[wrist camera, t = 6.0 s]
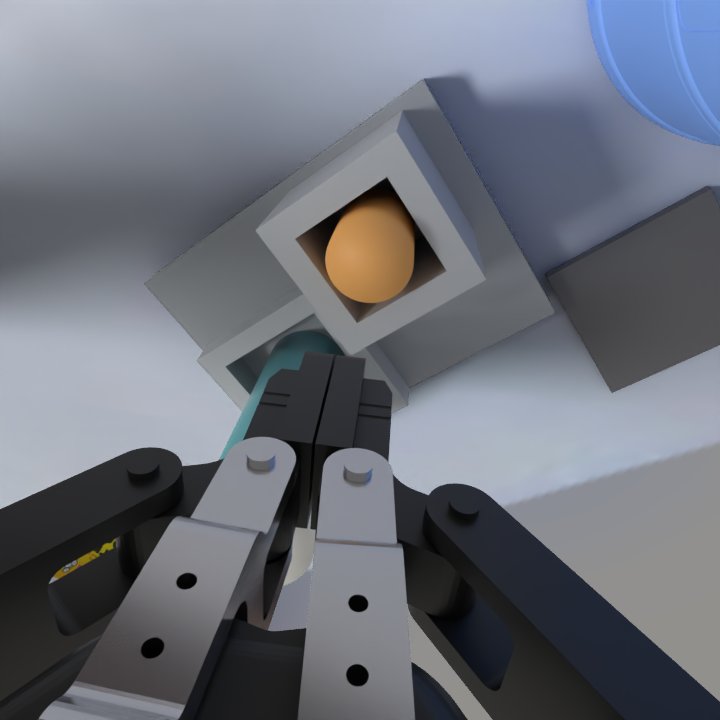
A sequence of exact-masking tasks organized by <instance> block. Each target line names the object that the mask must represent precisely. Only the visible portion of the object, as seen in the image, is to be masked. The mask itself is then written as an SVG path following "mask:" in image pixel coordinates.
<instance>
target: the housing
mask: <svg viewBox="0 0 720 720" xmlns="http://www.w3.org/2000/svg"><path fill="white" fill-rule="evenodd" d="M370 189H386V190H389V191H392V192H394V193H396V194H398V195H399V197H400V198H401V200H402V201H403V203H404V204H405V206H406V208H407V209H408V211H409V212H410V214H411V215H412V217H413V219H414V220H415V247H414V267H413V272H412V275H411V278H410V280H409V282H408V283H407V285H406V286H405V287H404V289H403V290H402V291H401V292H400V293H398V294H397V295H396V296H394V297H392V298H390V299H388V300H386V301H382V302H378V303H364V302H359V301H356V300H353V299H351V298H349V297H347V296H345V295H344V294H343V293H341V292H340V291H339V290H338V289H337V288H336V287H335V286H334V284H333V283H332V281H331V280H330V277H329V275H328V273H327V269H326V263H325V256H326V250H327V246H328V244H329V241H330V239H331V237H332V235H333V233H334V231H335V228H336V226H337V224H338V222H339V220H340V218H341V215H342V213H343V211H344V209H345V207H346V205H347V204H348V203H349V202H350V201H352V200H353V199H355V198H356V197H358V196H359V195H361V194H362V193H364V192H365V191H367V190H370ZM144 284H145V285H146V286H147V288H148V289H149V290H150V291H151V292H152V293H153V294H154V296H155V297H156V298H157V299H158V300H159V301H160V302H161V304H162V305H163V306H164V307H165V308H166V309H167V310H168V312H169V313H170V314H171V315H172V316H173V317H174V318H175V319H176V321H177V322H178V323H179V324H180V325H181V326H182V327H183V329H184V330H185V331H186V332H187V333H188V334H189V335H190V337H191V338H192V339H193V340H194V341H195V342H196V343H197V344H198V346H199V347H200V348H201V349H202V350H203V352H202V354H201V355H200V357H199V358H198V359H197V362H198V363H199V364H200V365H201V366H202V367H203V368H204V370H205V371H206V372H207V373H208V374H209V375H210V376H211V377H212V379H213V380H214V381H215V382H216V383H217V384H218V385H219V386H220V387H221V389H222V390H223V391H224V392H225V393H226V394H227V395H228V396H229V398H230V399H231V400H232V401H233V402H234V403H235V404H236V405H237V407H238V408H239V409H240V410H241V411H242V412H243V409H244V407H245V405H246V403H247V401H248V399H249V397H250V395H251V393H252V391H253V389H254V387H255V385H256V383H257V381H258V378H259V376H260V374H261V372H262V370H263V368H264V366H265V364H266V362H267V360H268V358H269V356H270V354H271V352H272V350H273V348H274V346H275V345H276V343H277V342H278V341H279V340H280V339H281V338H283V337H284V336H286V335H288V334H290V333H293V332H297V331H312V332H317V333H320V334H323V335H325V336H327V337H329V338H330V339H331V340H333V341H334V342H335V343H336V344H337V345H338V346H339V347H340V348H341V350H342V351H343V353H344V355H345V356H349V357H358V358H366V364H365V374H364V378H366V379H375V380H383V381H385V382H386V384H387V385H388V387H389V388H390V390H391V392H392V393H393V394H392V410H391V414H392V413H394V412H396V411H398V410H400V409H402V408H404V407H406V406H408V397H409V388H410V387H412V386H414V385H416V384H418V383H419V382H421V381H423V380H425V379H427V378H429V377H431V376H433V375H435V374H437V373H439V372H441V371H443V370H445V369H447V368H449V367H451V366H453V365H455V364H456V363H458V362H460V361H462V360H464V359H466V358H468V357H470V356H472V355H474V354H476V353H478V352H480V351H482V350H484V349H486V348H488V347H490V346H492V345H493V344H495V343H497V342H499V341H501V340H503V339H505V338H507V337H509V336H511V335H513V334H515V333H517V332H519V331H521V330H523V329H525V328H527V327H529V326H531V325H532V324H534V323H536V322H538V321H540V320H542V319H544V318H546V317H548V316H550V315H552V314H554V313H555V311H554V309H553V306H552V304H551V302H550V300H549V298H548V296H547V295H546V293H545V291H544V289H543V288H542V286H541V284H540V282H539V281H538V279H537V277H536V275H535V273H534V272H533V270H532V268H531V266H530V265H529V263H528V261H527V259H526V258H525V256H524V254H523V252H522V251H521V249H520V247H519V245H518V244H517V242H516V240H515V238H514V237H513V235H512V233H511V231H510V229H509V228H508V226H507V224H506V222H505V221H504V219H503V217H502V215H501V214H500V212H499V210H498V208H497V207H496V205H495V203H494V201H493V200H492V198H491V196H490V194H489V193H488V191H487V189H486V187H485V186H484V184H483V182H482V180H481V178H480V177H479V175H478V173H477V171H476V170H475V168H474V166H473V164H472V163H471V161H470V159H469V157H468V156H467V154H466V152H465V150H464V149H463V147H462V145H461V143H460V142H459V140H458V138H457V136H456V135H455V133H454V131H453V129H452V127H451V126H450V124H449V122H448V120H447V119H446V117H445V115H444V113H443V112H442V110H441V108H440V106H439V105H438V103H437V101H436V99H435V98H434V96H433V94H432V92H431V91H430V89H429V87H428V85H427V84H426V82H425V80H424V79H423V80H421V81H420V82H419V83H417V84H416V85H414V86H413V87H412V88H410V89H409V90H408V91H406V92H405V93H403V94H402V95H401V96H399V97H398V98H397V99H395V100H394V101H392V102H391V103H390V104H388V105H387V106H386V107H384V108H383V109H381V110H380V111H379V112H377V113H376V114H374V115H373V116H372V117H370V118H369V119H368V120H366V121H365V122H363V123H362V124H361V125H359V126H358V127H357V128H355V129H354V130H352V131H351V132H350V133H348V134H347V135H346V136H344V137H343V138H341V139H340V140H339V141H337V142H336V143H334V144H333V145H332V146H330V147H329V148H328V149H326V150H325V151H323V152H322V153H321V154H319V155H318V156H317V157H315V158H314V159H312V160H311V161H310V162H308V163H307V164H306V165H304V166H303V167H301V168H300V169H299V170H297V171H296V172H294V173H293V174H292V175H290V176H289V177H288V178H286V179H285V180H283V181H282V182H281V183H279V184H278V185H277V186H275V187H274V188H272V189H271V190H270V191H268V192H267V193H266V194H264V195H263V196H261V197H260V198H259V199H257V200H256V201H255V202H253V203H252V204H250V205H249V206H248V207H246V208H245V209H243V210H242V211H241V212H239V213H238V214H237V215H235V216H234V217H232V218H231V219H230V220H228V221H227V222H226V223H224V224H223V225H221V226H220V227H219V228H217V229H216V230H215V231H213V232H212V233H210V234H209V235H208V236H206V237H205V238H203V239H202V240H201V241H199V242H198V243H197V244H195V245H194V246H192V247H191V248H190V249H188V250H187V251H186V252H184V253H183V254H181V255H180V256H179V257H177V258H176V259H175V260H173V261H172V262H170V263H169V264H168V265H166V266H165V267H164V268H162V269H161V270H159V271H158V272H157V273H156V274H155V275H153V276H152V277H151V278H150V279H149V280H148V281H147V282H146V283H144Z"/></svg>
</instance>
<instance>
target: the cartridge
mask: <svg viewBox="0 0 720 720" xmlns="http://www.w3.org/2000/svg"><path fill="white" fill-rule="evenodd" d="M306 351H307V352H316V353H324V354H333V355H335V361H336V357H337V355H340V356H345V355H344V353H343V351H342V350H341V348H340V347H339V346H338V345H337V344H336V343H335V342H334V341H333V340H331V339H330V338H329V337H327V336H325V335H323V334H320V333H317V332H312V331H297V332H293V333H290V334H288V335H286V336H284V337H283V338H281V339H280V340H279V341H278V342H277V343H276V345H275V346H274V348H273V350H272V352H271V354H270V356H269V358H268V360H267V362H266V364H265V366H264V368H263V370H262V372H261V374H260V376H259V378H258V381H257V383H256V385H255V387H254V389H253V391H252V393H251V395H250V397H249V399H248V401H247V403H246V405H245V407H244V409H243V412H242V414H241V416H240V418H239V420H238V422H237V424H236V426H235V428H234V430H233V432H232V434H231V436H230V438H229V441H228V443H227V445H226V447H225V449H224V451H223V453H222V455H221V457H220V459H219V460H221V459H224V458H225V456H226V455H227V453H228V451H229V450H230V449H231V448H232V447H233V446H234V445H236V444H237V443H239V442H241V441H243V439H244V436H245V434H246V432H247V429H248V427H249V425H250V422H251V420H252V417H253V415H254V413H255V410H256V408H257V406H258V405H259V401H260V398H261V396H262V394H263V391H264V389H265V387H266V384H267V382H268V379H269V378H270V377H272V376H273V375H274V374H275V373H277V372H278V371H279V370H281V369H291V370H299V368H300V366H301V363H302V360H303V357H304V354H305V352H306ZM310 526H311V514H310V518H309V523H308V527H307V529H305V528H297V527H296V528H295V532H294V536H293V551H292V560H291V563H290V566H289V569H288V572H287V575H286V578H285V581H284V584H283V586H284V585H287V584H289V583H291V582H293V581H295V580H296V579H298V578H299V577H301V576H302V575H303V574H304V573H305V571H306V570H307V569H308V567H309V566H310V564H311V561H312V558H313V554H314V546H315V531H316V530H312V529H310Z"/></svg>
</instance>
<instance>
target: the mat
mask: <svg viewBox="0 0 720 720" xmlns="http://www.w3.org/2000/svg"><path fill="white" fill-rule="evenodd" d="M546 276H547V278H548V280H549V282H550V284H551V285H552V287H553V289H554V291H555V292H556V294H557V296H558V298H559V300H560V301H561V303H562V305H563V307H564V308H565V310H566V312H567V314H568V316H569V317H570V319H571V321H572V323H573V325H574V326H575V328H576V330H577V332H578V333H579V335H580V337H581V339H582V341H583V342H584V344H585V346H586V348H587V350H588V351H589V353H590V355H591V357H592V358H593V360H594V362H595V364H596V366H597V367H598V369H599V371H600V373H601V374H602V376H603V378H604V380H605V382H606V383H607V385H608V387H609V389H610V391H611V392H612V393H613V392H615V391H617V390H620V389H622V388H624V387H626V386H629V385H631V384H633V383H635V382H638V381H640V380H642V379H644V378H647V377H649V376H651V375H653V374H656V373H658V372H660V371H662V370H665V369H667V368H669V367H671V366H674V365H676V364H678V363H680V362H683V361H685V360H687V359H689V358H691V357H694V356H696V355H698V354H700V353H703V352H705V351H707V350H709V349H712V348H714V347H716V346H718V345H720V208H719V205H718V203H717V200H716V198H715V196H714V193H713V191H712V189H711V188H709V187H707V186H706V187H704V188H702V189H701V190H699V191H697V192H695V193H693V194H691V195H690V196H688V197H686V198H684V199H682V200H680V201H678V202H677V203H675V204H673V205H671V206H669V207H667V208H666V209H664V210H662V211H660V212H658V213H656V214H654V215H653V216H651V217H649V218H647V219H645V220H643V221H642V222H640V223H638V224H636V225H634V226H632V227H630V228H629V229H627V230H625V231H623V232H621V233H619V234H618V235H616V236H614V237H612V238H610V239H608V240H606V241H605V242H603V243H601V244H599V245H597V246H595V247H594V248H592V249H590V250H588V251H586V252H584V253H582V254H581V255H579V256H577V257H575V258H573V259H571V260H570V261H568V262H566V263H564V264H562V265H560V266H559V267H557V268H555V269H553V270H551V271H549V272H547V273H546Z"/></svg>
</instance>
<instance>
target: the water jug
mask: <svg viewBox="0 0 720 720" xmlns="http://www.w3.org/2000/svg"><path fill="white" fill-rule="evenodd" d="M587 7H588V16H589V22H590V28H591V32H592V37H593V40H594V44H595V47H596V50H597V53H598V55H599V58H600V60H601V63H602V65H603V67H604V69H605V71H606V73H607V75H608V76H609V78H610V80H611V81H612V83H613V84H614V86H615V87H616V89H617V90H618V91H619V93H620V94H621V95H622V96H623V97H624V99H625V100H626V101H627V102H628V103H629V104H630V105H631V106H632V107H633V108H634V109H635V110H637V111H638V112H639V113H640V114H642V115H643V116H644V117H646V118H647V119H648V120H650V121H652V122H653V123H655V124H656V125H658V126H660V127H662V128H664V129H666V130H668V131H671V132H673V133H676V134H678V135H681V136H683V137H686V138H689V139H692V140H695V141H699V142H703V143H707V144H712V145H718V146H720V0H587Z"/></svg>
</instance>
